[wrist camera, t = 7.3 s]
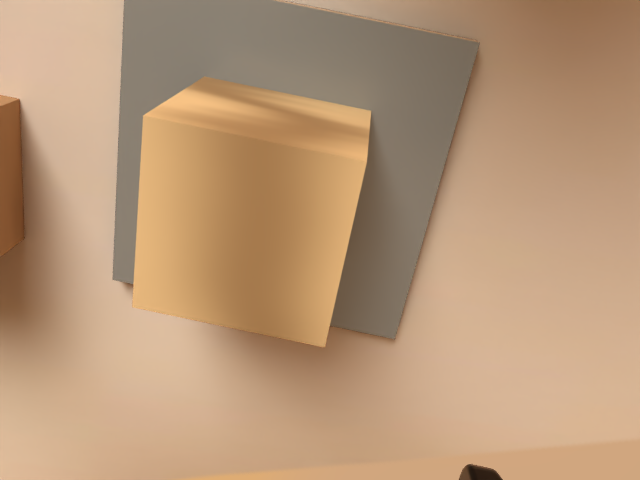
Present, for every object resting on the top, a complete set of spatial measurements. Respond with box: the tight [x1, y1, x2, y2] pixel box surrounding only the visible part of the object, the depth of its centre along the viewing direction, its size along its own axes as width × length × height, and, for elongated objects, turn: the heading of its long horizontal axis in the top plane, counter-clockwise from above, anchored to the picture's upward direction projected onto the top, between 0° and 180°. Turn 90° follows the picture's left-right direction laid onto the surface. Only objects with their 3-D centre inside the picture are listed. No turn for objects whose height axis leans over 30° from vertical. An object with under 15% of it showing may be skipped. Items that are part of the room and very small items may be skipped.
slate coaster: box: [113, 0, 480, 339], centre depth 19 cm, size 10×10×1 cm
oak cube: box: [132, 76, 371, 348], centre depth 17 cm, size 5×5×5 cm
